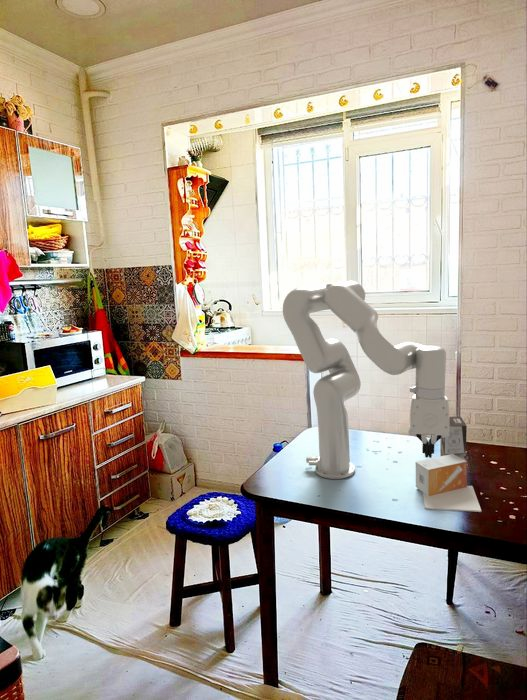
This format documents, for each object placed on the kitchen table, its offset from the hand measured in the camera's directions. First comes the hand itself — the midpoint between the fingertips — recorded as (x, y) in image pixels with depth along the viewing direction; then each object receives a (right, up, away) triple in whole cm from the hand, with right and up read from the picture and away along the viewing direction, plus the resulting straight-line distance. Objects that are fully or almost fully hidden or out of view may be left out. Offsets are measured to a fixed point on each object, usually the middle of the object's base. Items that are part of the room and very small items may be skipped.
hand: (428, 455), depth 138 cm
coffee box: (+13, -8, +17) cm, 23 cm away
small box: (-1, -7, +3) cm, 8 cm away
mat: (+6, -12, +1) cm, 13 cm away
